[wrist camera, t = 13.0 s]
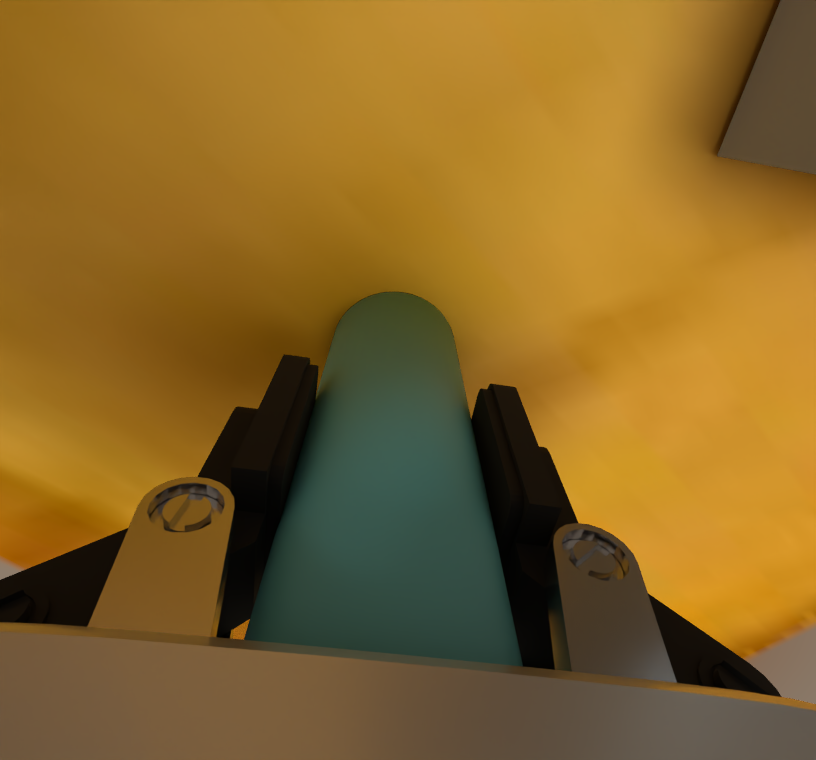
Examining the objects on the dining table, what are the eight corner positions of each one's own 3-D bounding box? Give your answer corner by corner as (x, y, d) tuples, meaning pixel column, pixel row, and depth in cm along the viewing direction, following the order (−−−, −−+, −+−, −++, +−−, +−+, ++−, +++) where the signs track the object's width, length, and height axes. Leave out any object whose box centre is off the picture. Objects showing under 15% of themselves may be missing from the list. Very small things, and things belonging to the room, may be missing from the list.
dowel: (327, 394, 16) (182, 956, 6) (339, 282, 14) (163, 784, 4) (442, 409, 16) (511, 972, 6) (466, 302, 15) (625, 817, 4)
